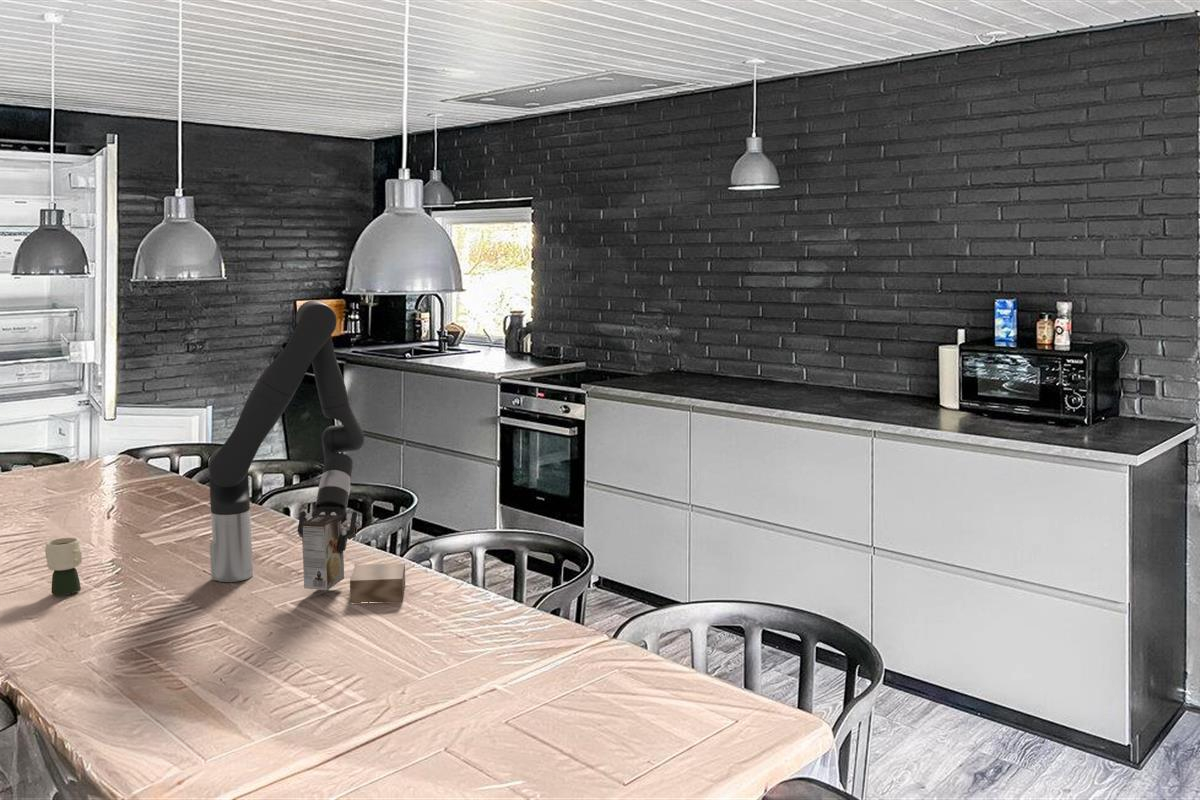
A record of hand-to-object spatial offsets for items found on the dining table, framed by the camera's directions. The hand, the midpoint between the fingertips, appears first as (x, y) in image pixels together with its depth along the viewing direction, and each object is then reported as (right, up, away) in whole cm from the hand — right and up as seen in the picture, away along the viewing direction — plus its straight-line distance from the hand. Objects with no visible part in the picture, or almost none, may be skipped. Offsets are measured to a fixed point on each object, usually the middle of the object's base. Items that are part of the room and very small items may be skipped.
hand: (323, 551), depth 249 cm
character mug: (-62, -10, +1) cm, 63 cm away
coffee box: (0, -8, +2) cm, 8 cm away
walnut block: (+13, -11, 0) cm, 17 cm away
